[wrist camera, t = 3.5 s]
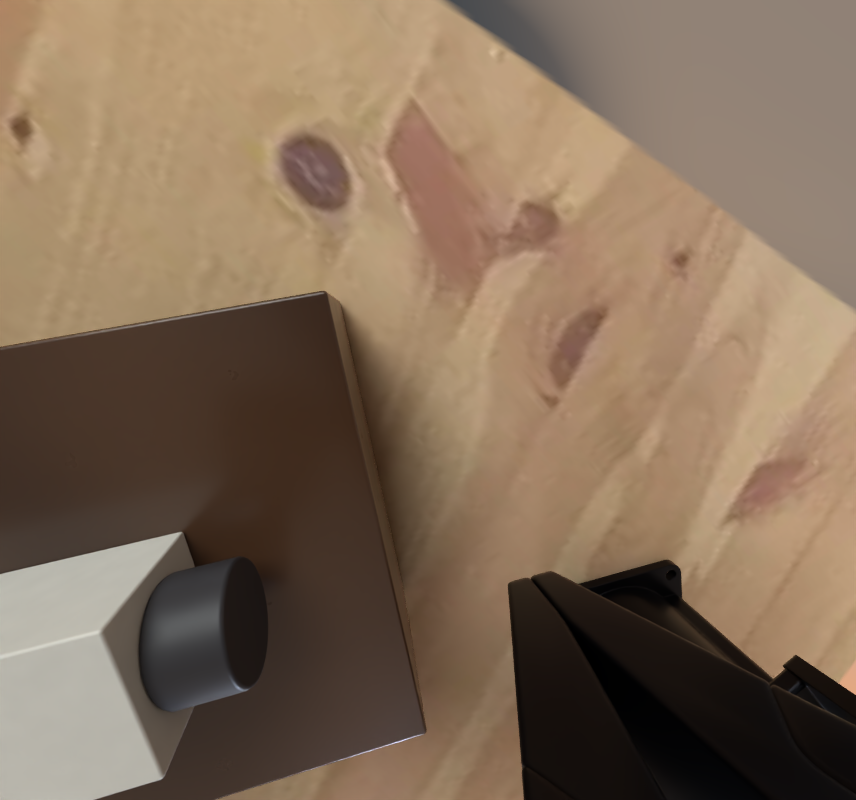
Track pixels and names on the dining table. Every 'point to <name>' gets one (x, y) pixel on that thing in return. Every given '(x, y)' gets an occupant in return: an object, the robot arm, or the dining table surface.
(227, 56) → the dining table surface
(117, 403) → the wooden desk organizer
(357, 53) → the dining table surface
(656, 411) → the dining table surface
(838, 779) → the robot arm
